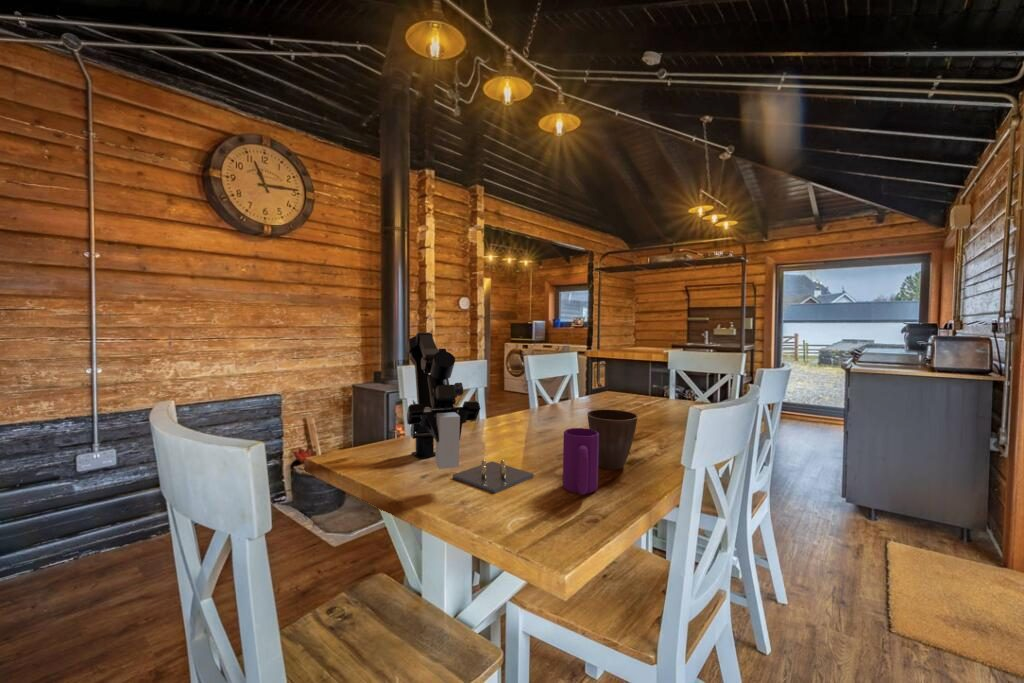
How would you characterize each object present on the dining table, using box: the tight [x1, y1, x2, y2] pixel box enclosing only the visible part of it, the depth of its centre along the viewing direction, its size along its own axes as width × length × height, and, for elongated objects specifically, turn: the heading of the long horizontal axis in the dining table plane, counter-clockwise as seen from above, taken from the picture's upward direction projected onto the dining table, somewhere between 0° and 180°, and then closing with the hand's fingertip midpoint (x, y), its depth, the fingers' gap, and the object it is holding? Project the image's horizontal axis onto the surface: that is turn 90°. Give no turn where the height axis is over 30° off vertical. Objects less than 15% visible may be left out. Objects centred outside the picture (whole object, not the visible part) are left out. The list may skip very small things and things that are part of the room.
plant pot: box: [587, 409, 639, 471], centre depth 133 cm, size 15×15×16 cm
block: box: [434, 412, 460, 470], centre depth 111 cm, size 5×5×13 cm
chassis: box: [452, 459, 534, 494], centre depth 122 cm, size 16×16×4 cm
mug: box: [562, 427, 599, 495], centre depth 112 cm, size 9×16×15 cm, turn 176°
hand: (448, 440), depth 110 cm, fingers closed on block, 5 cm apart
